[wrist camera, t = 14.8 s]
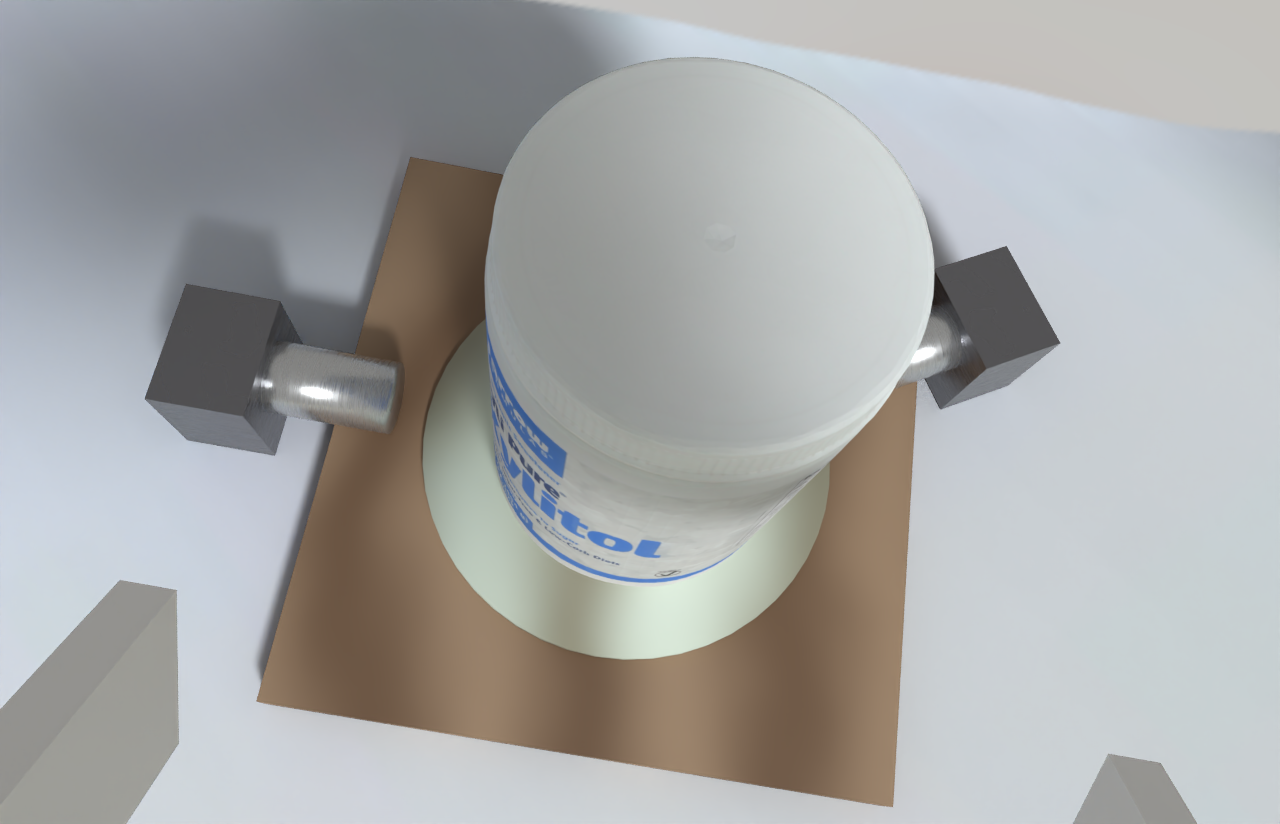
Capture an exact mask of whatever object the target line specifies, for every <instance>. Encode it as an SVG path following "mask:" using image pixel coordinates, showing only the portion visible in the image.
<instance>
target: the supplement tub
mask: <svg viewBox="0 0 1280 824" xmlns="http://www.w3.org/2000/svg"><path fill="white" fill-rule="evenodd" d="M484 279H485V311H486V332H487V348H488V362H489V377H490V391H491V407H492V422H493V437H494V450H495V463H496V468H497V473H498V478H499V481H500V484H501V488H502V491H503V493H504V496H505V498H506V500H507V503H508V505H509V507H510V509H511V511H512V513H513V514H514V516H515V518H516V520H517V521H518V522H519V524H520V525H521V526H522V528H523V529H524V530H525V532H526V533H527V534H528V535H529V537H530V538H531V539H532V540H533V541H534V542H535V543H536V544H537V545H538V546H539V547H540V548H541V549H542V550H543V551H544V552H546V553H547V554H548V555H550V556H551V557H552V558H554V559H555V560H557V561H558V562H559V563H561V564H563V565H565V566H566V567H568V568H570V569H572V570H574V571H576V572H578V573H580V574H583V575H585V576H588V577H591V578H594V579H597V580H601V581H604V582H609V583H614V584H619V585H625V586H634V587H655V586H664V585H669V584H674V583H677V582H681V581H685V580H688V579H690V578H693V577H696V576H698V575H701V574H703V573H705V572H707V571H709V570H711V569H712V568H714V567H716V566H718V565H719V564H720V563H722V562H723V561H725V560H726V559H728V558H729V557H730V556H731V555H732V554H734V553H735V552H736V551H737V550H738V549H739V548H740V547H741V546H743V545H744V544H745V543H746V542H747V541H748V540H749V539H750V538H751V537H752V536H753V535H754V534H755V533H756V532H757V531H759V530H760V529H761V528H762V527H763V526H764V525H765V524H766V523H767V522H768V521H769V520H770V519H771V518H772V517H773V516H774V515H775V514H776V513H777V512H778V511H779V510H780V509H781V508H782V507H784V506H785V505H786V504H787V503H788V502H789V501H790V500H791V499H792V498H793V497H794V496H795V495H796V494H797V493H798V492H799V491H800V490H801V489H802V488H803V487H804V486H805V485H806V484H807V483H808V482H809V481H810V480H811V479H812V478H813V477H815V476H816V475H817V474H818V473H819V472H820V471H821V470H822V469H823V468H824V467H825V466H826V465H827V464H828V463H829V462H830V461H831V460H832V459H833V458H834V457H835V456H836V455H837V454H838V453H839V452H840V451H841V450H842V449H843V448H844V447H845V446H846V445H847V444H848V443H849V442H850V441H851V440H852V439H853V438H854V437H855V436H856V435H857V434H858V433H859V432H860V431H861V429H862V428H863V427H864V426H865V425H866V424H867V423H868V422H869V421H870V420H871V419H872V418H873V417H874V416H875V415H876V413H877V412H878V411H879V410H880V408H881V407H882V406H883V404H884V403H885V402H886V400H887V399H888V398H889V396H890V394H891V393H892V391H893V390H894V388H895V386H896V384H897V382H898V381H899V379H900V378H901V376H902V375H903V374H904V372H905V371H906V369H907V368H908V367H909V365H910V363H911V361H912V359H913V357H914V355H915V353H916V351H917V350H918V348H919V346H920V343H921V341H922V338H923V335H924V333H925V330H926V326H927V323H928V319H929V316H930V312H931V306H932V300H933V294H934V255H933V248H932V241H931V237H930V233H929V229H928V225H927V221H926V217H925V214H924V212H923V209H922V206H921V204H920V201H919V199H918V197H917V195H916V193H915V191H914V189H913V187H912V185H911V183H910V181H909V179H908V177H907V175H906V174H905V172H904V171H903V169H902V167H901V166H900V164H899V163H898V161H897V160H896V159H895V157H894V156H893V155H892V154H891V152H890V151H889V150H888V148H887V147H886V146H885V145H884V144H883V143H882V142H881V141H880V139H879V138H878V137H877V136H876V135H875V134H874V133H873V132H872V131H871V130H870V129H869V128H868V127H867V126H866V125H865V124H864V123H862V122H861V121H860V120H859V119H858V118H857V117H856V116H855V115H853V114H852V113H851V112H849V111H848V110H847V109H846V108H844V107H843V106H842V105H840V104H839V103H837V102H836V101H834V100H833V99H831V98H830V97H828V96H827V95H825V94H823V93H821V92H820V91H818V90H816V89H814V88H813V87H811V86H809V85H807V84H805V83H803V82H800V81H798V80H796V79H794V78H791V77H789V76H786V75H784V74H781V73H779V72H776V71H774V70H770V69H767V68H763V67H759V66H756V65H752V64H749V63H743V62H737V61H732V60H725V59H717V58H700V57H687V58H667V59H661V60H654V61H648V62H642V63H639V64H635V65H631V66H628V67H624V68H621V69H617V70H615V71H612V72H610V73H608V74H605V75H603V76H600V77H598V78H596V79H594V80H592V81H590V82H588V83H586V84H584V85H582V86H581V87H579V88H578V89H576V90H575V91H573V92H572V93H570V94H569V95H567V96H566V97H564V98H563V99H561V100H560V101H559V102H558V103H556V104H555V105H554V106H553V107H552V108H551V109H549V110H548V111H547V112H546V113H545V114H544V115H543V116H542V117H541V118H540V119H539V120H538V122H537V123H536V124H535V125H534V126H533V127H532V128H531V129H530V131H529V132H528V133H527V135H526V136H525V137H524V139H523V140H522V141H521V143H520V144H519V146H518V148H517V149H516V151H515V153H514V155H513V156H512V158H511V160H510V162H509V164H508V166H507V168H506V170H505V172H504V175H503V179H502V182H501V185H500V188H499V191H498V195H497V198H496V202H495V206H494V213H493V221H492V228H491V232H490V237H489V244H488V251H487V255H486V265H485V278H484Z"/></svg>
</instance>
